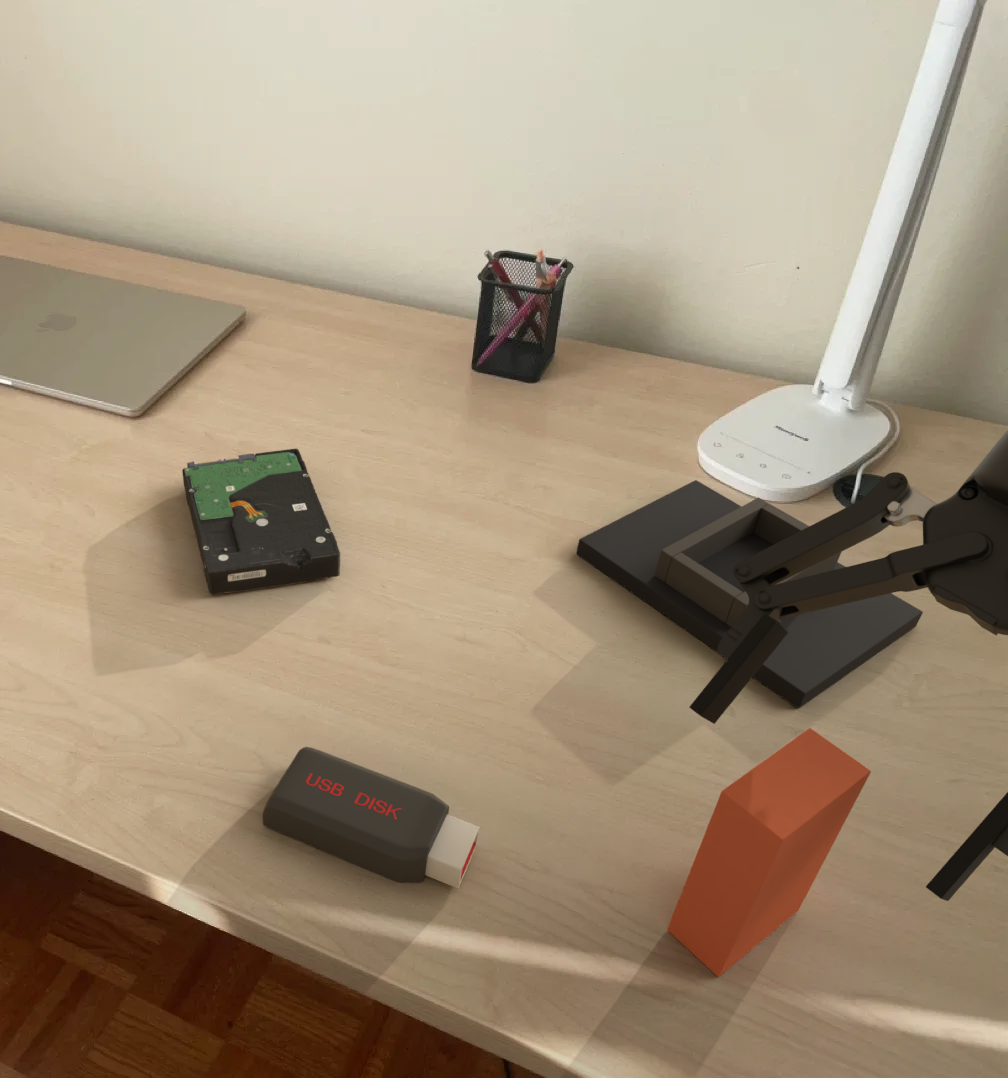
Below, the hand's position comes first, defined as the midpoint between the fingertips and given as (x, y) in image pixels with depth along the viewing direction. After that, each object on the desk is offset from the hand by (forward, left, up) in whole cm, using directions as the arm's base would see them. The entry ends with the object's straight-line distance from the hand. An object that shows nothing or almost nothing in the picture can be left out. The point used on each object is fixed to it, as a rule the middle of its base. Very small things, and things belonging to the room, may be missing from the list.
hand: (809, 798), depth 54 cm
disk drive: (+41, -17, -9) cm, 45 cm away
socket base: (+5, -27, -8) cm, 28 cm away
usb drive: (+21, +6, -9) cm, 24 cm away
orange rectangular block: (+1, +2, -8) cm, 9 cm away
